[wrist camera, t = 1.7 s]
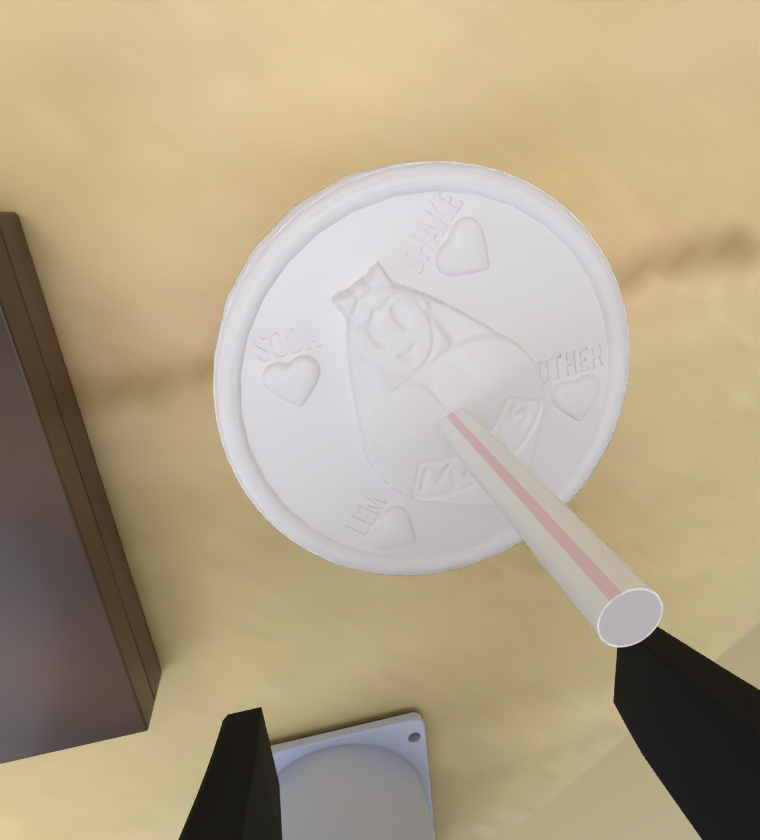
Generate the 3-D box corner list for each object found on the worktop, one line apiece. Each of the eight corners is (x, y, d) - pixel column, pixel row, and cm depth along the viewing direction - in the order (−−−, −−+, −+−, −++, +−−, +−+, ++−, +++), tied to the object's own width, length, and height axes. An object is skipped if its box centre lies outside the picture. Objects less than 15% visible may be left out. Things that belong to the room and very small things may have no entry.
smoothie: (330, 439, 18) (468, 965, 5) (195, 281, 16) (-136, 547, 3) (485, 323, 18) (1037, 588, 5) (372, 143, 16) (873, -246, 3)
